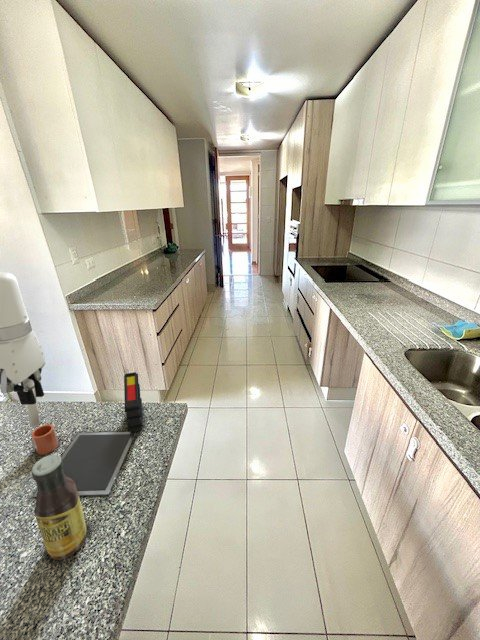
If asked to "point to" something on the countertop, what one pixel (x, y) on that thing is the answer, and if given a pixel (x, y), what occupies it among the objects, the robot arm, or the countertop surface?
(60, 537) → the sauce bottle
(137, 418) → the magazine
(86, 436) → the tablet
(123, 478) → the countertop surface
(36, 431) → the holder
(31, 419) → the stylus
